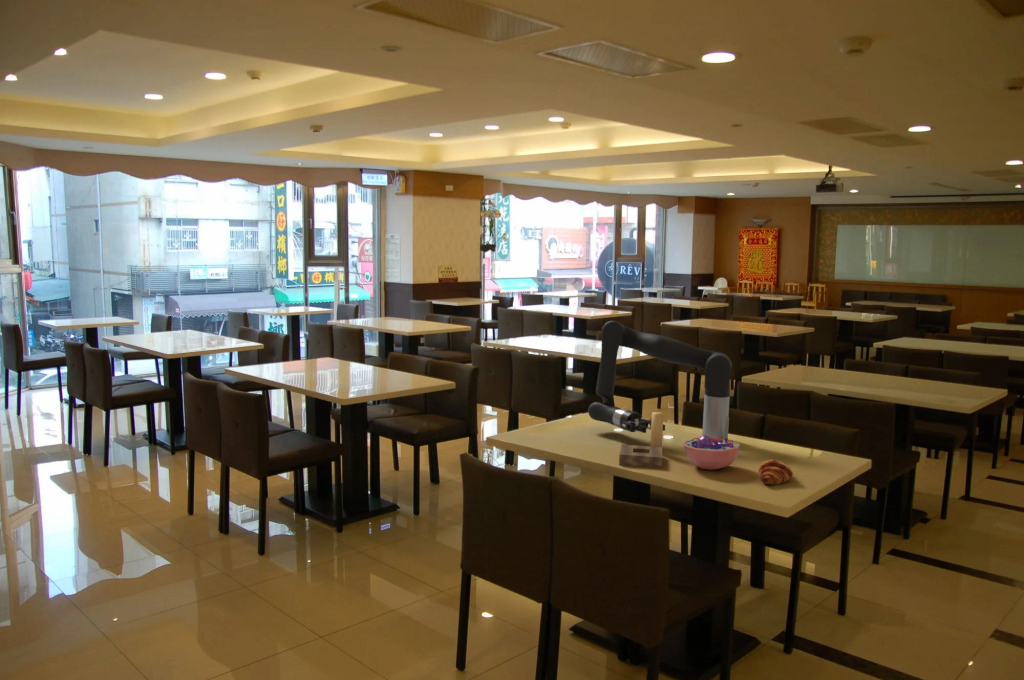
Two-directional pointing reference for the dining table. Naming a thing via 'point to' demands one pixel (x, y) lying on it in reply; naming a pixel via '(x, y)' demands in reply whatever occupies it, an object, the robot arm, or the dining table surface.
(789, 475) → the croissant
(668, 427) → the dining table surface
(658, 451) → the hole block
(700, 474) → the dining table surface
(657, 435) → the peg
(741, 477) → the dining table surface
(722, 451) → the cell model
